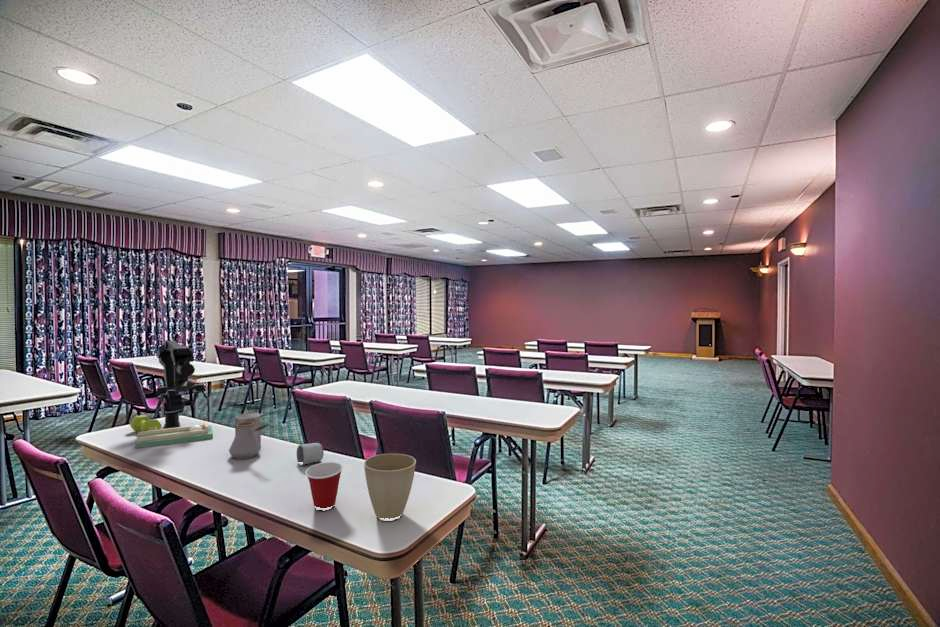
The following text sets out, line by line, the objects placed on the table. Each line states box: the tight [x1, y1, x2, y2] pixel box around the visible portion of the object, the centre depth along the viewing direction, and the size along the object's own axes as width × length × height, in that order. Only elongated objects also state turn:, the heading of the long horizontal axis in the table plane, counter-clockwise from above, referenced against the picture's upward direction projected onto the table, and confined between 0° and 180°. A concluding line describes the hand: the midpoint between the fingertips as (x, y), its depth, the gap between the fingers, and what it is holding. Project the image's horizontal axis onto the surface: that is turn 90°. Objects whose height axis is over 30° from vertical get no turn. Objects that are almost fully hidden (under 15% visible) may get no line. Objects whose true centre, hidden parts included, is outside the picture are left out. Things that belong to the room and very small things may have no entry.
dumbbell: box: [129, 414, 162, 433], centre depth 210 cm, size 16×8×7 cm, turn 54°
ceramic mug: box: [296, 442, 325, 466], centre depth 175 cm, size 11×8×8 cm
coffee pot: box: [228, 422, 272, 460], centre depth 178 cm, size 21×12×15 cm, turn 58°
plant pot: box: [363, 453, 417, 519], centre depth 131 cm, size 15×15×16 cm
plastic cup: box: [304, 461, 344, 508], centre depth 136 cm, size 11×11×12 cm
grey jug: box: [234, 412, 262, 446], centre depth 191 cm, size 10×10×15 cm
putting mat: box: [135, 420, 214, 449], centre depth 202 cm, size 16×28×5 cm, turn 122°
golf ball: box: [190, 424, 202, 431], centre depth 206 cm, size 5×5×5 cm
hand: (181, 407), depth 211 cm, fingers open, 9 cm apart
